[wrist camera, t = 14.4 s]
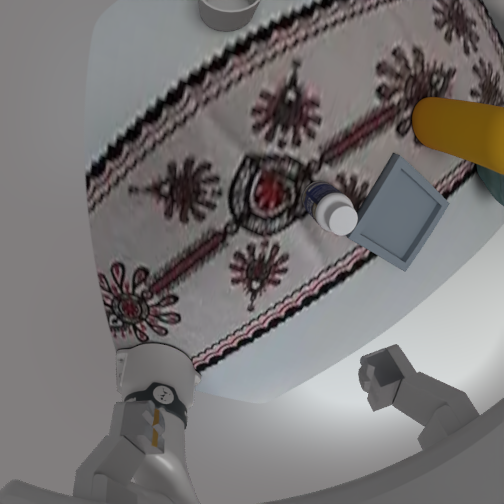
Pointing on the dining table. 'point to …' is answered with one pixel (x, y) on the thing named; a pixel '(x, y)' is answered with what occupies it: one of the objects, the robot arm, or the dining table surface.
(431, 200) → the dish
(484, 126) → the beer bottle
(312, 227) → the dining table surface
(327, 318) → the dining table surface
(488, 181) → the flower pot
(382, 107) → the dining table surface
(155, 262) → the dining table surface
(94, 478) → the robot arm
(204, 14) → the cup
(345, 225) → the pill bottle
